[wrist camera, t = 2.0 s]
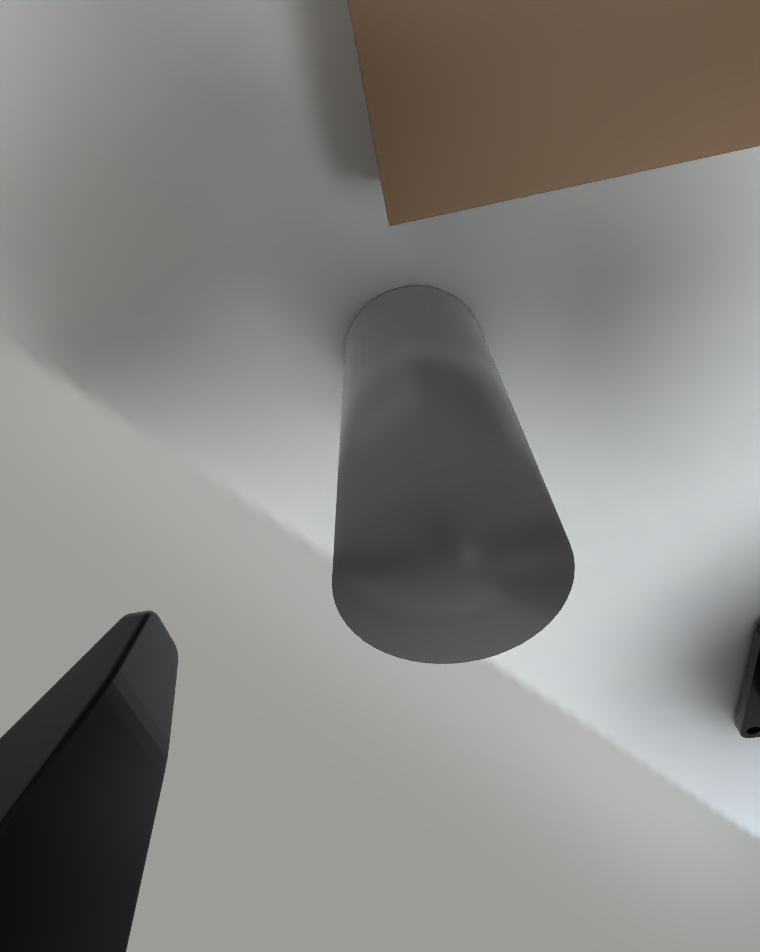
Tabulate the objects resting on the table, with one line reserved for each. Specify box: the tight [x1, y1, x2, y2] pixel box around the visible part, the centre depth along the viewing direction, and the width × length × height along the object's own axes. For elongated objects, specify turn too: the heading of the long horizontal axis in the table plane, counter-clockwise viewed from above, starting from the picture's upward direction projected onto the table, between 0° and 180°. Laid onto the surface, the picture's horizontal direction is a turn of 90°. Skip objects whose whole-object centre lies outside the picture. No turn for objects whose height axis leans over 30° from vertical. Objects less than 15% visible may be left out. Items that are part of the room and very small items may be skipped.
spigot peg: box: [332, 286, 575, 664], centre depth 12 cm, size 3×3×8 cm
